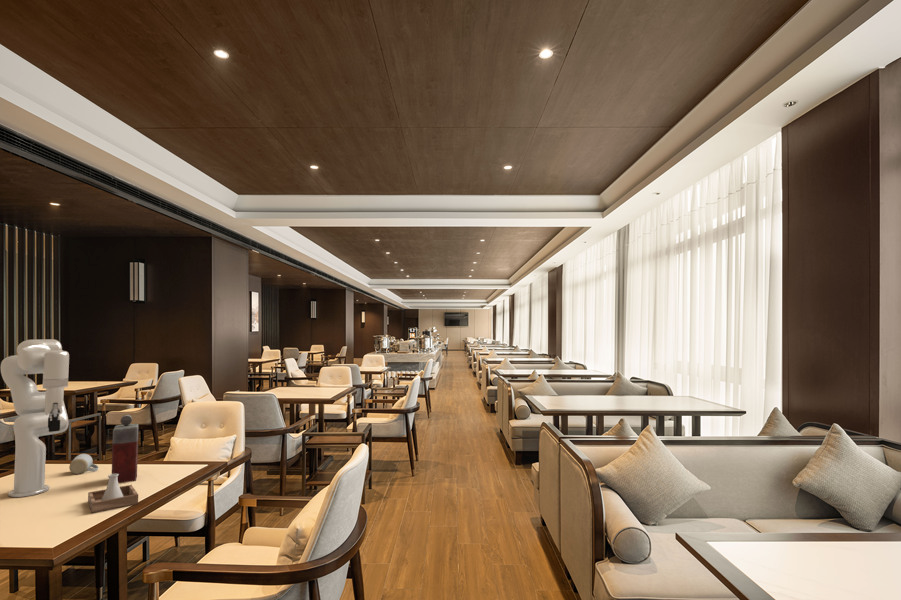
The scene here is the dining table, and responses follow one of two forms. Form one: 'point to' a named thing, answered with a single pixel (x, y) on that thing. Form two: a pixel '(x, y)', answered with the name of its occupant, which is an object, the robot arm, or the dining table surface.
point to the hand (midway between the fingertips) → (53, 429)
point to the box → (115, 503)
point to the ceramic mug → (82, 464)
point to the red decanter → (125, 450)
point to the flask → (112, 488)
